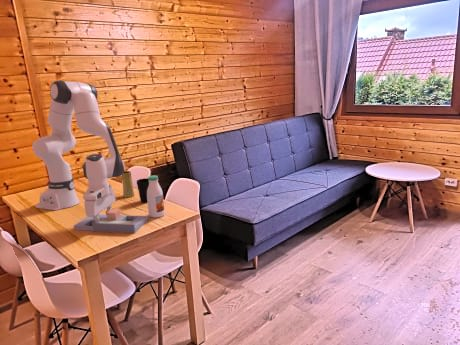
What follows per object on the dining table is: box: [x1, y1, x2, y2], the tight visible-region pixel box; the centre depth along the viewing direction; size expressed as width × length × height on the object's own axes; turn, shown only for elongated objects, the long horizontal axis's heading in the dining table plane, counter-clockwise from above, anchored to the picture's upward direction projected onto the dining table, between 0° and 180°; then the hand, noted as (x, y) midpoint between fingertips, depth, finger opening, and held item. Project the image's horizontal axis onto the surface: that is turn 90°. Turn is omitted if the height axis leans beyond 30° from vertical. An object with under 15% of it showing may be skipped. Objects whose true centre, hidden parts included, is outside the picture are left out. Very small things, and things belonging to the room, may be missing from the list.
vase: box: [121, 170, 135, 198], centre depth 206 cm, size 6×6×14 cm
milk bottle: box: [147, 174, 166, 219], centre depth 174 cm, size 8×8×20 cm
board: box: [73, 213, 149, 234], centre depth 167 cm, size 30×15×4 cm, turn 79°
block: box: [107, 208, 122, 220], centre depth 170 cm, size 4×4×4 cm
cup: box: [136, 177, 149, 204], centre depth 196 cm, size 8×8×12 cm
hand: (103, 218), depth 167 cm, fingers open, 8 cm apart
